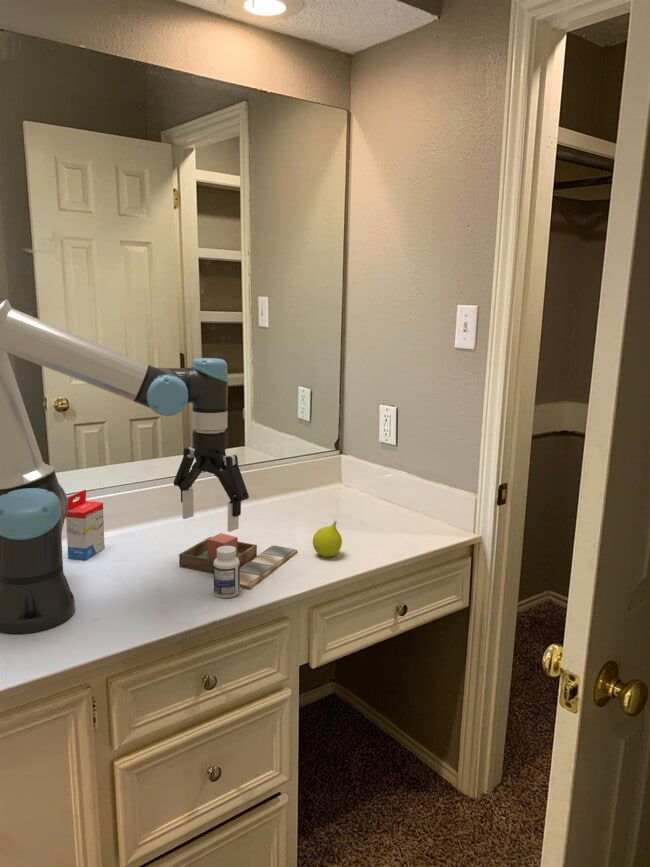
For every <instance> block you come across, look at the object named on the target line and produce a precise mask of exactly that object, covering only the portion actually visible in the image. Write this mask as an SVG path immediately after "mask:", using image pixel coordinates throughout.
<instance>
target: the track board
mask: <svg viewBox="0 0 650 867" xmlns="http://www.w3.org/2000/svg"><path fill="white" fill-rule="evenodd" d="M296 554H298V549H295V548H291V547H286V546H279V545H270V547H268V548H266V549H265V550H263V551H262V552H260V554H257V556H256V557H255V558H253V559H252V560H251V561H249V562H248V563H246V564H245V565H243V566H242V567H241V568H240V589H244V590H252V588H254V587H255V586H256V585H258V584H259V583H260V582H261V581H263V580H264V579H265V578H266V577H268V576H269V575H271V574H272V573H273V572H274V571H275V570H277V569H278V568H280V567H281V566H282V565H283V564H285V563H286V562H287V561H289V560H290V559H291V558H292V557H293V556H295V555H296Z"/></svg>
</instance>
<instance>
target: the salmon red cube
mask: <svg viewBox="0 0 650 867" xmlns="http://www.w3.org/2000/svg"><path fill="white" fill-rule="evenodd" d="M210 537H211V538H209V537H207V538H208V539H207V538H206V539H207V558H208V559H213V560H215V559H216V558H217V548H219V547H221V546H233V547H235V548H236V556H235V557H237V556H238V542H239V540H238V536H234V535H230V534H226V533H222V532H221V533H218V534H216V535H215V534H214V536H210Z"/></svg>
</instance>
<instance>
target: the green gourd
mask: <svg viewBox="0 0 650 867" xmlns="http://www.w3.org/2000/svg"><path fill="white" fill-rule="evenodd" d="M342 545H343V538H342V536H341V534H340V532H339V531H338V529H337V520H334V521H333V523H332V524H331V525H329V526H324V527H321V528H319V529H318V530H316V532H315V533H314V534H313V538H312V547H313V549H314V550H315V552H316V553H317V554H318V555H319V556H322V557H328V558H329V557H333V556H335V555H337V554H338V553H339V551H340V550H341V549H342Z"/></svg>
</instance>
